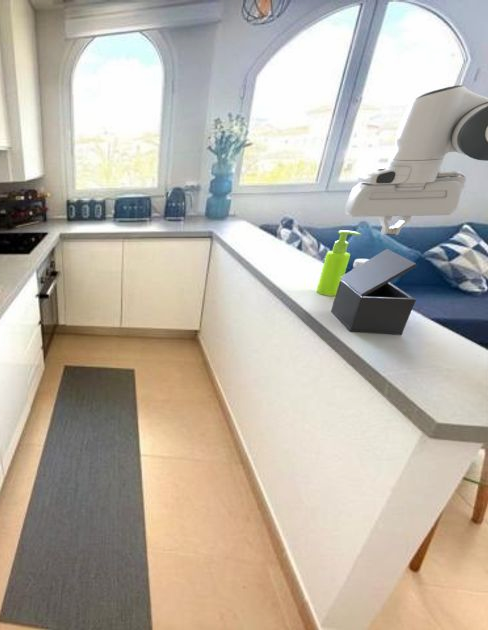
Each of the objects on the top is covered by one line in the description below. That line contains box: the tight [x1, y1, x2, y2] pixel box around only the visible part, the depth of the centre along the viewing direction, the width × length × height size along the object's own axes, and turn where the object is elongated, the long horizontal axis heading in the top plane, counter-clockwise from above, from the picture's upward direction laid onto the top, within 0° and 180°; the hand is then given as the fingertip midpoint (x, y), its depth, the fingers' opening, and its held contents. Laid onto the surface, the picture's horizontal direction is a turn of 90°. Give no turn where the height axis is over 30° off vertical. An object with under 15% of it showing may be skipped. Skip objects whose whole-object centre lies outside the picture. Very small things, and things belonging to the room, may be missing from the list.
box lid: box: [340, 248, 418, 297], centre depth 87 cm, size 12×13×1 cm
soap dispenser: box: [316, 230, 362, 297], centre depth 107 cm, size 6×7×20 cm
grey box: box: [330, 280, 417, 336], centre depth 91 cm, size 11×13×10 cm
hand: (389, 234), depth 83 cm, fingers closed
